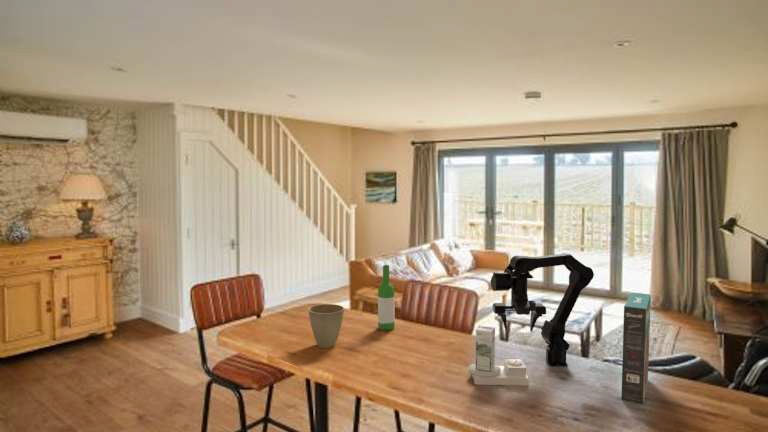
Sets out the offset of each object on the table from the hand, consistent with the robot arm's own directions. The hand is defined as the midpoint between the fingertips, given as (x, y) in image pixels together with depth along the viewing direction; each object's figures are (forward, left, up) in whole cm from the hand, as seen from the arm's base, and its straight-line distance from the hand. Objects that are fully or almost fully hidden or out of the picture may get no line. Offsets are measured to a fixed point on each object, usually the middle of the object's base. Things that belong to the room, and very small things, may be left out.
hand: (518, 331), depth 183 cm
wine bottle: (+52, -44, -13) cm, 69 cm away
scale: (+9, +13, -13) cm, 21 cm away
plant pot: (+76, -19, -13) cm, 79 cm away
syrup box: (+14, +13, -10) cm, 22 cm away
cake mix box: (-34, +20, -13) cm, 42 cm away
